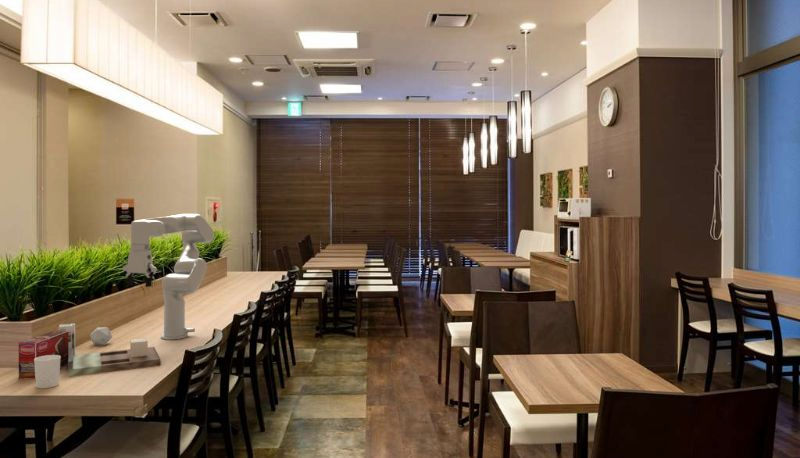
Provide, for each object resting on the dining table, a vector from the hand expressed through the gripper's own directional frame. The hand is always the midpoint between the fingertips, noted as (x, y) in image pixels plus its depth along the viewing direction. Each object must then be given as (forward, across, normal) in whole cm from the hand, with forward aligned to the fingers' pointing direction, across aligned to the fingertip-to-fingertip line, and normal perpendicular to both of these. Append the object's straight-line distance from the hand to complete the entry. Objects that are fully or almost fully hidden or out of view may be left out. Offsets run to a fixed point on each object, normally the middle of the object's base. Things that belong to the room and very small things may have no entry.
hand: (139, 286), depth 242 cm
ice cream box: (+30, +12, +36) cm, 49 cm away
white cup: (+31, -5, +51) cm, 59 cm away
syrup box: (+30, +18, +20) cm, 40 cm away
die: (+29, +24, -5) cm, 38 cm away
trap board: (+30, -6, +20) cm, 36 cm away
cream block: (+27, -12, +14) cm, 33 cm away
